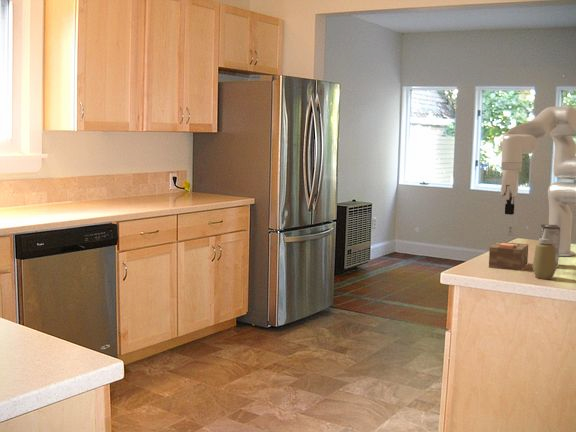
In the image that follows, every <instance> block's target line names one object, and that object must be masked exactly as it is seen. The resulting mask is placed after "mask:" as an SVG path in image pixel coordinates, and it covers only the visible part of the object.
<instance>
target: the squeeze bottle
mask: <svg viewBox="0 0 576 432" xmlns="http://www.w3.org/2000/svg"><path fill="white" fill-rule="evenodd" d="M534 250H535V251H534V254H533V255H534V256H533V263H532V270H533V274H534V276H535V278H537V279H540V280H550V279H553V278H554V275H555V272H556V269H557V268H556V259H555V246H554V245H552V239H550V238H549V232H548V229H544V233H543V236H542V238H540V237H539V238H538V243H537V244H536V245H535V249H534Z"/></svg>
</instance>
